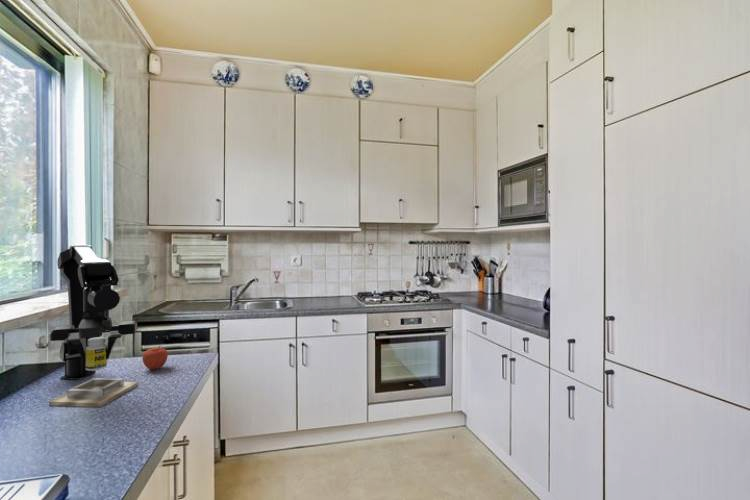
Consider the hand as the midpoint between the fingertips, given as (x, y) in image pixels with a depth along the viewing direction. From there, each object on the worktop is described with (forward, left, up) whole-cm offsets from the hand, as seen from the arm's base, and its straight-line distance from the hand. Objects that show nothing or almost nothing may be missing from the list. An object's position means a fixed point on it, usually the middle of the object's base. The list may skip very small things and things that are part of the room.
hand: (96, 360), depth 101 cm
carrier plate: (0, 0, -10) cm, 10 cm away
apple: (+3, +21, -10) cm, 23 cm away
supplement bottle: (0, 0, -2) cm, 2 cm away
